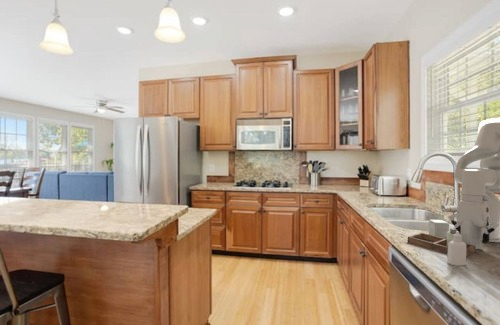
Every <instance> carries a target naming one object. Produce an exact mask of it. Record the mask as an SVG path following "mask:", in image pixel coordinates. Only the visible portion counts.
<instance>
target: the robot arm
mask: <svg viewBox="0 0 500 325" xmlns="http://www.w3.org/2000/svg"><path fill="white" fill-rule="evenodd" d="M475 138H476V139H475V141H474V145H473V148H471V149H470V150H468V151H466V152H465V153H464V154H463V155H461V156H460V158H458V161H457V163H456V166H455V170H454V174H453V178H454V181H455V182H456V183H458V184H461V199H460V200H459V202H458V206H457V209H456V213H454V214H450V215H449V216H448V219H449V221H450V223H451V224H452V225H453V226H454V229H457V231H459V234H461V224H463V221H464V220H468V221H472V226H475V227H481V229H482V243H483V244H487V243H500V199H499V197H498V196H497V195H496V194H495V193H498V194H499V193H500V117H498V118H490V119H489V118H488V119H486V120H483V121H481V122H480V123H479V125H478V130H477V134H476V136H475ZM477 161H479V167H468V166H469V165H471V164H472V163H474V162H477ZM455 218H456V220H455Z"/></svg>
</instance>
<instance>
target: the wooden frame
mask: <svg viewBox="0 0 500 325" xmlns="http://www.w3.org/2000/svg"><path fill="white" fill-rule="evenodd" d="M407 243H409V244H413V245H414V246H415V245H416V246H419V247H423V248H427V249H429V250H432V251H436V252H440V253H444V254H447V255H448V247H447V238H441V237H437V236H433V235H430V234H429V233H424V232H419V233H416V234H412V235H409V236H407ZM474 253H476V249H475V246H473V245H469V244H466V257H468V256H470V255H472V254H474Z"/></svg>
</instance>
